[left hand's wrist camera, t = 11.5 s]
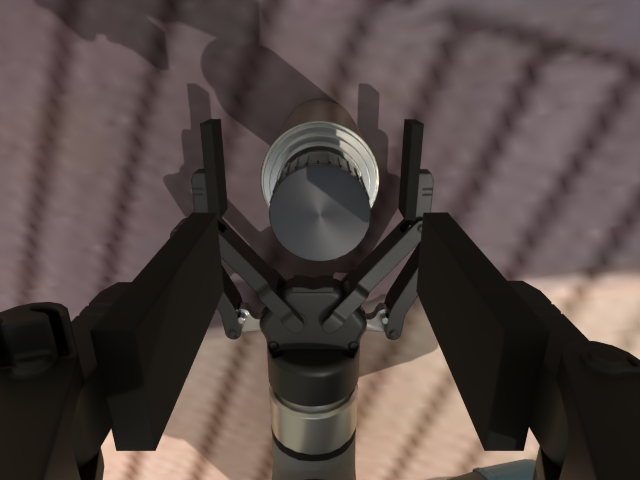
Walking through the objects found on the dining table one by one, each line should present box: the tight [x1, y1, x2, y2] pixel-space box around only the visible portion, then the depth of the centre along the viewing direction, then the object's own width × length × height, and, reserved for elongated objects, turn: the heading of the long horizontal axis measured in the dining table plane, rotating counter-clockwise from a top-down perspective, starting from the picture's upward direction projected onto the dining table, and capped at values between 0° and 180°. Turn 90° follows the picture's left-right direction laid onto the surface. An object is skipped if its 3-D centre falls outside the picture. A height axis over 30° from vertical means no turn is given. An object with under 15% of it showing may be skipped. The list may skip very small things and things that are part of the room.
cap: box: [269, 152, 371, 261], centre depth 19 cm, size 4×4×3 cm
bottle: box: [260, 99, 380, 208], centre depth 27 cm, size 6×6×20 cm
